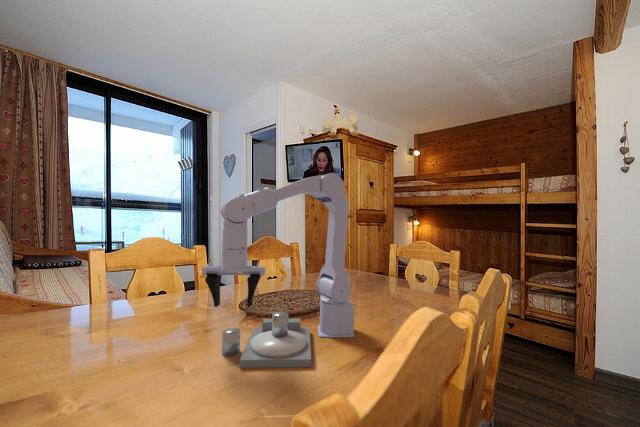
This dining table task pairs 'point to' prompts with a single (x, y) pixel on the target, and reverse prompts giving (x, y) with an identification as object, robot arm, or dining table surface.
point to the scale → (277, 347)
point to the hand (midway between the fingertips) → (233, 305)
